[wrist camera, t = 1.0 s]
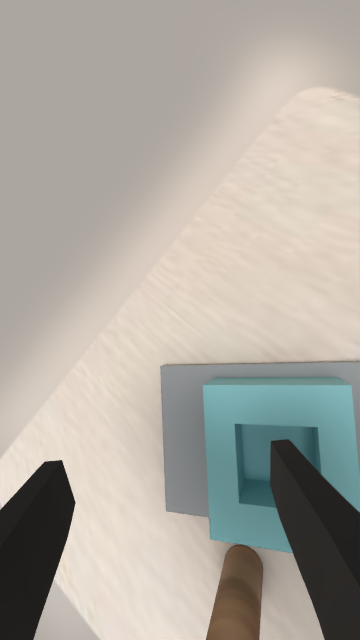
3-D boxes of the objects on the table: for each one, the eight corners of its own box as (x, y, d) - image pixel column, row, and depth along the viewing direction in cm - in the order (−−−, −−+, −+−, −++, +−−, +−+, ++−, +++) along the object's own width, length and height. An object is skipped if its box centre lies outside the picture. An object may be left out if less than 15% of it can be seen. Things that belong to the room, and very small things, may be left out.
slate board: (533, 552, 18) (550, 566, 17) (170, 503, 26) (166, 511, 24) (508, 357, 19) (523, 359, 18) (165, 364, 26) (160, 366, 25)
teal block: (350, 522, 20) (367, 565, 16) (221, 506, 23) (210, 539, 19) (337, 376, 21) (351, 385, 17) (214, 377, 24) (202, 385, 20)
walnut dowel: (264, 588, 23) (259, 691, 16) (225, 581, 24) (206, 675, 17) (261, 548, 23) (255, 633, 16) (223, 542, 24) (203, 619, 17)
